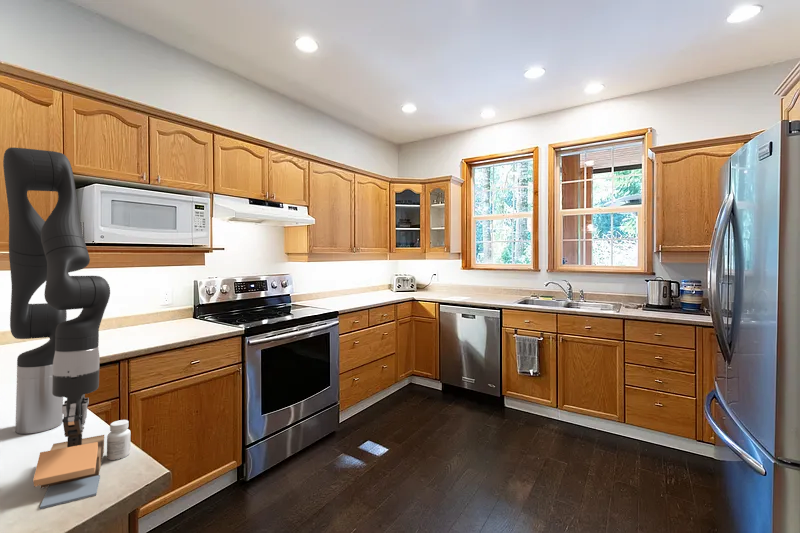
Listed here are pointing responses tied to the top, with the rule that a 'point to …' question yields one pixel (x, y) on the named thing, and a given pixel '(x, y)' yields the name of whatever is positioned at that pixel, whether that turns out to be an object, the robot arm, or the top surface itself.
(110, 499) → the top surface
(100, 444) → the block
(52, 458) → the thin peach tile
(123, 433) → the pill bottle
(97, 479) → the mat
